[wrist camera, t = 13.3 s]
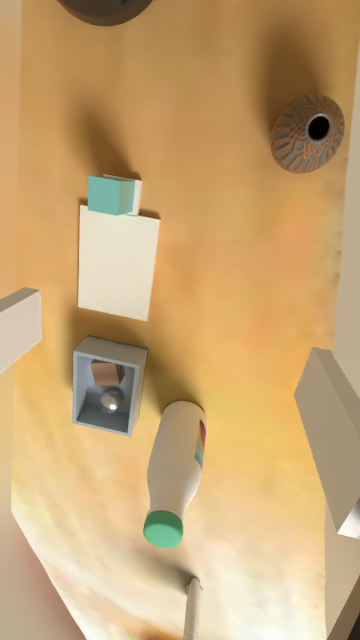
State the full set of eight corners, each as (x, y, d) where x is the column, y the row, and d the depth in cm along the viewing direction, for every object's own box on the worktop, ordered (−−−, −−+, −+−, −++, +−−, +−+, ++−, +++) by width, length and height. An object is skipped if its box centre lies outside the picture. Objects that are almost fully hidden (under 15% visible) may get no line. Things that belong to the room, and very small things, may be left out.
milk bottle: (155, 420, 54) (118, 538, 36) (176, 391, 51) (147, 504, 33) (192, 441, 55) (174, 566, 37) (215, 413, 52) (208, 536, 34)
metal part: (126, 392, 52) (119, 402, 49) (119, 406, 53) (112, 416, 50) (109, 383, 52) (101, 393, 49) (103, 397, 53) (95, 407, 50)
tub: (87, 335, 49) (73, 350, 45) (147, 348, 49) (139, 365, 44) (85, 403, 55) (72, 422, 51) (138, 415, 54) (130, 436, 50)
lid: (83, 170, 39) (56, 167, 33) (165, 184, 39) (153, 185, 32) (80, 304, 47) (58, 323, 41) (148, 319, 47) (135, 339, 41)
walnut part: (97, 353, 50) (90, 363, 47) (121, 353, 49) (114, 363, 46) (102, 374, 51) (95, 385, 48) (125, 374, 51) (119, 385, 48)
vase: (320, 177, 36) (346, 175, 28) (261, 171, 37) (270, 167, 29) (339, 107, 33) (374, 83, 25) (274, 101, 34) (289, 75, 26)
